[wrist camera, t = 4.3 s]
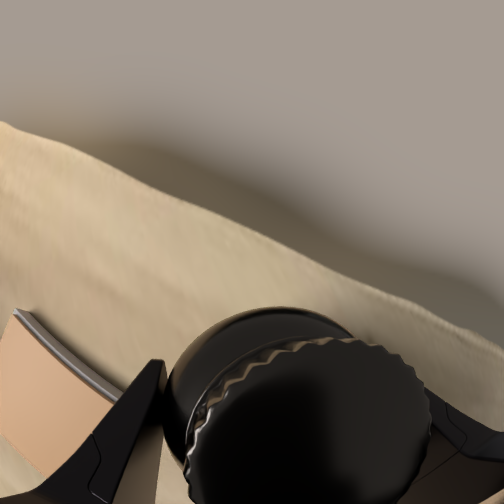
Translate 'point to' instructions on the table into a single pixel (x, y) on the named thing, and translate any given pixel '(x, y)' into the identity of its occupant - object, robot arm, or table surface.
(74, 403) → the note pad
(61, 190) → the table surface
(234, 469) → the supplement bottle
